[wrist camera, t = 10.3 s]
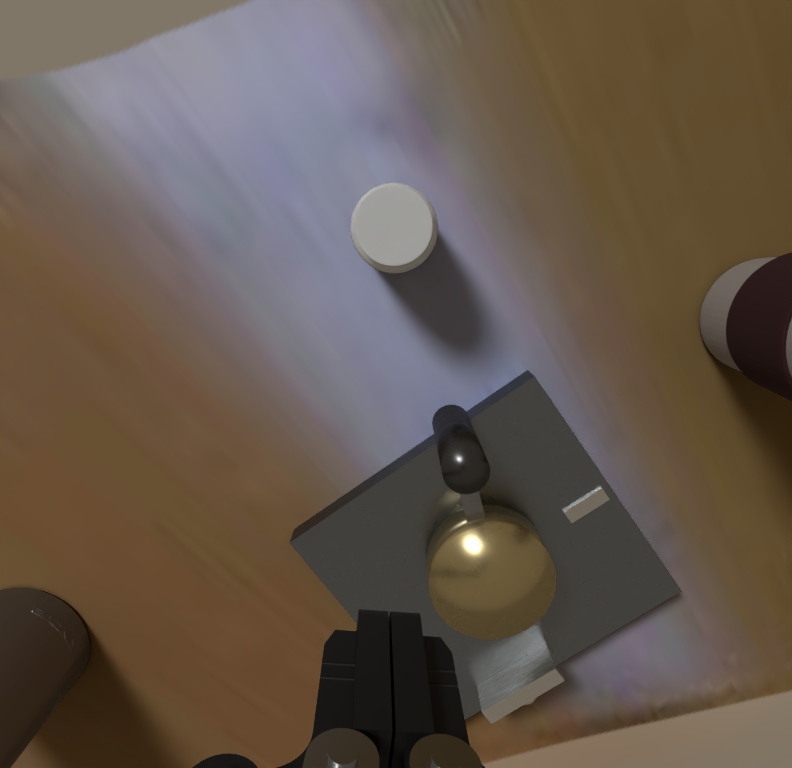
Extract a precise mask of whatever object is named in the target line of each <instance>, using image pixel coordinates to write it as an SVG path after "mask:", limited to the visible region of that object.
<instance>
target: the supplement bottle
mask: <svg viewBox="0 0 792 768" xmlns="http://www.w3.org/2000/svg"><path fill="white" fill-rule="evenodd" d="M437 234H438V223H437V217H436V214H435V211H434V209H433V207H432V205H431V204H430V202H429V201H428V199H427V198H426V197H425V196H424V195H423V194H422V193H421V192H419V191H418V190H417V189H415V188H413V187H411V186H409V185H405V184H401V183H386V184H382V185H379V186H376V187H374V188H373V189H371V190H370V191H368V192H367V193H366V194H365V195H364V196H363V197H362V198H361V199H360V200H359V202H358V203H357V205H356V207H355V209H354V211H353V214H352V218H351V237H352V241H353V244H354V246H355V249H356V250H357V252H358V253H359V255H360V256H361V257H362V258H363V259H364V260H365V261H366V262H367V263H368V264H369V265H370V266H372V267H373V268H375V269H377V270H379V271H382V272H386V273H403V272H407V271H410V270H412V269H415V268H416V267H418V266H419V265H420V264H422V263H423V262H424V261H425V260H426V259H427V258H428V257H429V255H430V254H431V252H432V251H433V248H434V246H435V244H436V240H437Z"/></svg>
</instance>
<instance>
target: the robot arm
mask: <svg viewBox="0 0 792 768" xmlns="http://www.w3.org/2000/svg"><path fill="white" fill-rule="evenodd" d="M89 655H90V642H89V638H88V634H87V630H86V628H85V626H84V625H83V623H82V621H81V619H80V618H79V617H78V615H77V614H76V613H75V612H74V610H72V609H71V608H70V607H69V606H68V605H67V604H66V603H64V602H63V601H61V600H60V599H58V598H56V597H55V596H53V595H51V594H48V593H45V592H43V591H40V590H35V589H30V588H10V589H5V590H0V768H11V767H12V765H13V764H14V763H15V761H16V760H17V759H18V757H19V756H20V755H21V753H22V752H23V751H24V749H25V748H26V747H27V745H28V744H29V743H30V741H31V740H32V739H33V737H34V736H35V735H36V733H37V732H38V731H39V729H40V728H41V727H42V725H43V724H44V723H45V722H46V720H47V719H48V718H49V716H50V715H51V714H52V713H53V711H54V710H55V709H56V707H57V706H58V705H59V703H60V702H61V701H62V699H63V698H64V697H65V695H66V694H67V693H68V691H69V690H70V689H71V687H72V686H73V685H74V683H75V682H76V681H77V679H78V678H79V677H80V675H81V674H82V673H83V671H84V669H85V667H86V665H87V663H88V659H89ZM193 768H257V766H256V765H255V764H254V763H253V762H252V761H250V760H249V759H248V758H245V757H243V756H240V755H237V754H220V755H215V756H212V757H209V758H207V759H205V760H203V761H201V762H200V763H198V764H197V765H195V766H194V767H193ZM277 768H485V767H484V766H483V765H482V764H481V761H480V758H479V757H478V755H477V753H476V752H475V751H474V750H473V748H472V747H471V746H470V744H469V740H468V735H467V730H466V724H465V719H464V714H463V708H462V703H461V698H460V692H459V688H458V682H457V676H456V674H455V666H454V660H453V655H452V652H451V651H450V649H449V648H448V647H447V645H446V644H445V642H444V641H443V640H442V638H441V637H432V636H423V632H422V624H421V616H420V613H407V612H393V611H390V614H388V611H378V610H364V609H359V611H358V620H357V629H356V631H343V630H335V631H334V632H333V634H332V635H331V636H330V638H329V639H328V640H327V642H326V643H325V644H324V652H323V660H322V667H321V675H320V683H319V690H318V698H317V706H316V713H315V721H314V729H313V735H312V739H311V741H310V743H309V745H308V747H307V748H306V749H305V751H304V752H303V753H302V754H301V755H300V756H299V757H297V758H296V759H295V760H293V761H292V762H290V763H288V764H286V765H284V766H281V767H277Z"/></svg>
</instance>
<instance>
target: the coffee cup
mask: <svg viewBox="0 0 792 768" xmlns="http://www.w3.org/2000/svg"><path fill="white" fill-rule="evenodd" d="M700 331H701V335H702V338H703V341H704V343H705V345H706V347H707V348H708V350H709V351H710V352H711V353H712V354H713V355H714V357H715V358H717V359H718V360H719V361H721V362H722V363H724V364H725V365H727V366H729V367H731V368H734V369H736V370H738V371H740V372H742V373H743V374H744V375H745V376H747V377H748V378H749V379H750V380H752V381H754V382H755V383H757V384H759V385H761V386H763V387H765V388H767V389H769V390H771V391H773V392H775V393H777V394H779V395H781V396H783V397H785V398H787V399H789V400H791V401H792V253H788V254H785V255H782V256H779V257H770V258H759V259H753V260H749V261H746V262H743V263H741V264H739V265H736V266H734V267H733V268H731V269H729V270H728V271H726V272H725V273H724V274H723V275H721V276H720V277H719V278H718V279H717V280H716V281H715V283H714V284H713V285H712V286H711V288H710V290H709V291H708V293H707V294H706V297H705V299H704V302H703V304H702V308H701V312H700Z"/></svg>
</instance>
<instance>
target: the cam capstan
mask: <svg viewBox="0 0 792 768" xmlns="http://www.w3.org/2000/svg"><path fill="white" fill-rule="evenodd" d="M432 425H433V430H434V435H435V440H436V445H437V450H438V456H439V461H440V466H441V471H442V476H443V479H444V482H445V484H446V485H447V486H448V487H449V488H450V489H451V490H452V491H454V492H456V493H459V494H460V497H461V501H462V505H463V510H461V511H459V512H457V513H455V514H453V515H452V516H450V517H449V518H448V519H446V520H445V521H444V522H443V523H442V524H441V525H440V526H439V527H438V529H437V530H436V531H435V533H434V535H433V537H432V538H431V541H430V544H429V547H428V551H427V571H428V582H429V592H430V597H431V600H432V603H433V606H434V608H435V609H436V611H437V613H438V614H439V616H440V617H441V618H442V619H443V620H444V621H445V622H446V623H447V624H448V625H449V626H450V627H452V628H453V629H455V630H456V631H458V632H460V633H462V634H464V635H466V636H470V637H473V638H478V639H486V640H495V639H503V638H508V637H511V636H515V635H517V634H519V633H522V632H524V631H525V630H527V629H529V628H530V627H532V626H533V625H534V624H536V623H537V622H538V621H539V620H540V619H541V618H542V616H543V615H544V614H545V613H546V611H547V610H548V608H549V607H550V605H551V602H552V600H553V597H554V594H555V590H556V572H555V567H554V564H553V561H552V559H551V557H550V555H549V553H548V551H547V549H546V547H545V545H544V543H543V541H542V539H541V537H540V535H539V533H538V531H537V530H536V528H535V527H534V526H533V525H532V523H531V522H530V521H529V520H528V519H526V518H525V517H524V516H523V515H521V514H519V513H518V512H516V511H514V510H512V509H509V508H506V507H503V506H497V505H482V502H481V498H480V494H479V490H481V489H482V488H483V487H484V486H485V485H486V484H487V482H488V480H489V477H490V465H489V462H488V460H487V458H486V455H485V453H484V451H483V448H482V446H481V444H480V441H479V439H478V437H477V434H476V432H475V430H474V428H473V425H472V423H471V421H470V418H469V416H468V414H467V412H466V411H465V410H464V409H463V408H461V407H459V406H457V405H446V406H443V407H441V408H440V409H439V410H438V411H437V412H436V413H435V415H434V417H433V421H432Z"/></svg>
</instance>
